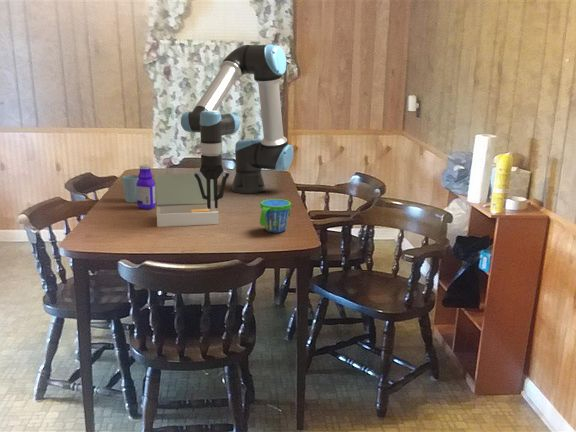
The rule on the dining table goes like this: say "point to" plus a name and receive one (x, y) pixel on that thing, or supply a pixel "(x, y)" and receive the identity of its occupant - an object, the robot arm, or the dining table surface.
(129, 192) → the cup
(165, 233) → the dining table surface
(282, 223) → the snack cup
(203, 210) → the orange rectangular block
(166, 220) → the grey rectangular box
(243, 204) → the dining table surface
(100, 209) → the dining table surface
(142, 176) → the bottle
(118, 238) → the dining table surface
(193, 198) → the cover
